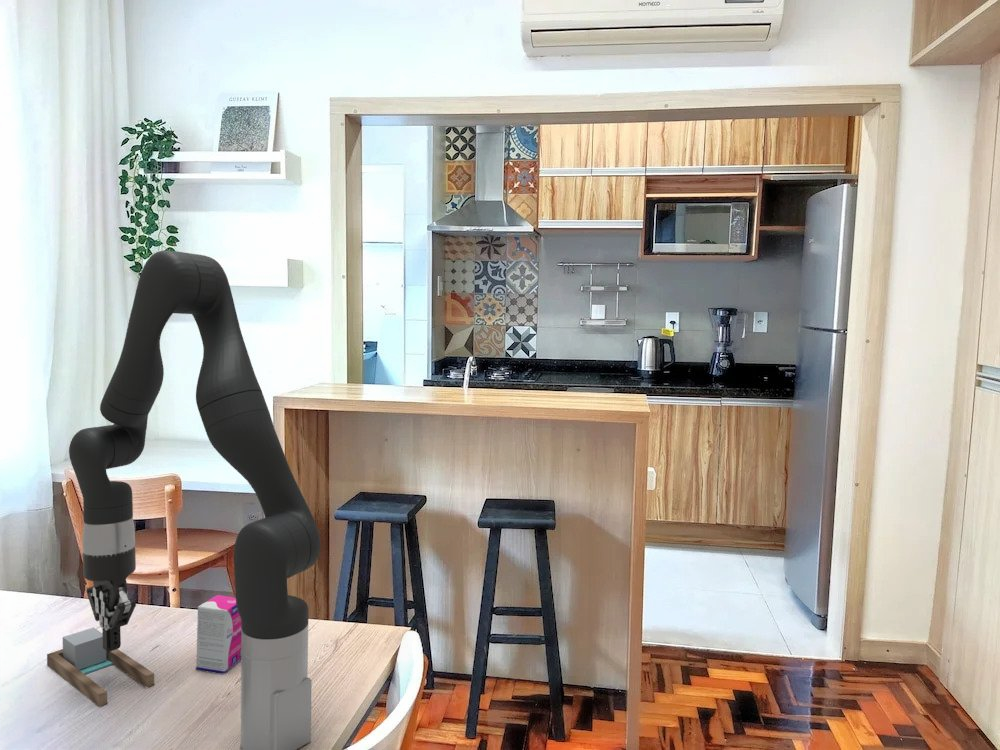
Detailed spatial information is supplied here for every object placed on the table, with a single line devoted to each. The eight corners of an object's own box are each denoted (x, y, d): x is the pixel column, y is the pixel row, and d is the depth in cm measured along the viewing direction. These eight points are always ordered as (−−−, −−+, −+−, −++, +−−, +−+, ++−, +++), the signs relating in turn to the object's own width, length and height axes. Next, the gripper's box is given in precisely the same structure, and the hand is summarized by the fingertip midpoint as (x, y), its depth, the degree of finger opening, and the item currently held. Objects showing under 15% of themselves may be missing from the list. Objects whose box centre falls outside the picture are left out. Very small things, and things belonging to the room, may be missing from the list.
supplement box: (225, 675, 118) (225, 610, 117) (195, 670, 119) (195, 606, 118) (244, 659, 123) (245, 597, 123) (215, 655, 125) (215, 593, 124)
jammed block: (106, 660, 120) (106, 635, 120) (75, 671, 116) (74, 645, 116) (93, 651, 123) (93, 627, 123) (62, 661, 119) (62, 637, 119)
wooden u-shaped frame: (154, 684, 114) (154, 673, 114) (99, 706, 107) (98, 694, 107) (99, 647, 126) (99, 637, 126) (47, 665, 119) (47, 654, 119)
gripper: (152, 548, 111) (154, 652, 112) (114, 533, 119) (117, 630, 120) (103, 560, 105) (105, 669, 106) (67, 544, 113) (70, 645, 114)
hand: (111, 648), depth 113 cm, fingers closed
